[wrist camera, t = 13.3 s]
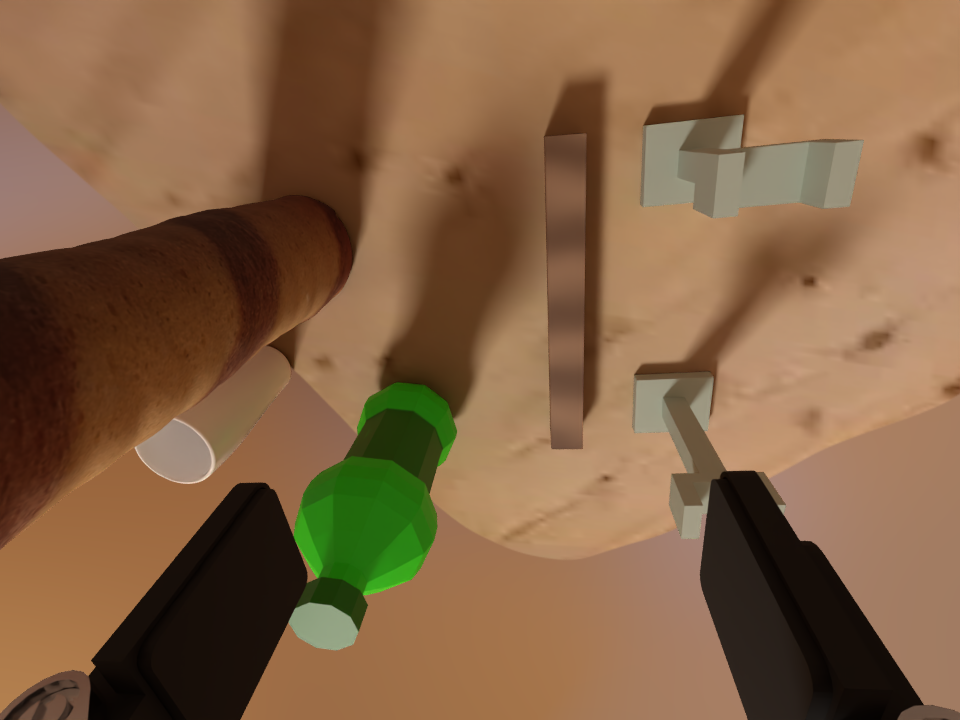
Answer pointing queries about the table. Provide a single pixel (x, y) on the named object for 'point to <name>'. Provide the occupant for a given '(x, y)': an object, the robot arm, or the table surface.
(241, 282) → the wafer roll
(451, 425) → the plastic bottle
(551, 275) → the walnut rail
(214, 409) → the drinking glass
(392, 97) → the table surface
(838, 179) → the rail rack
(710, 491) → the robot arm
